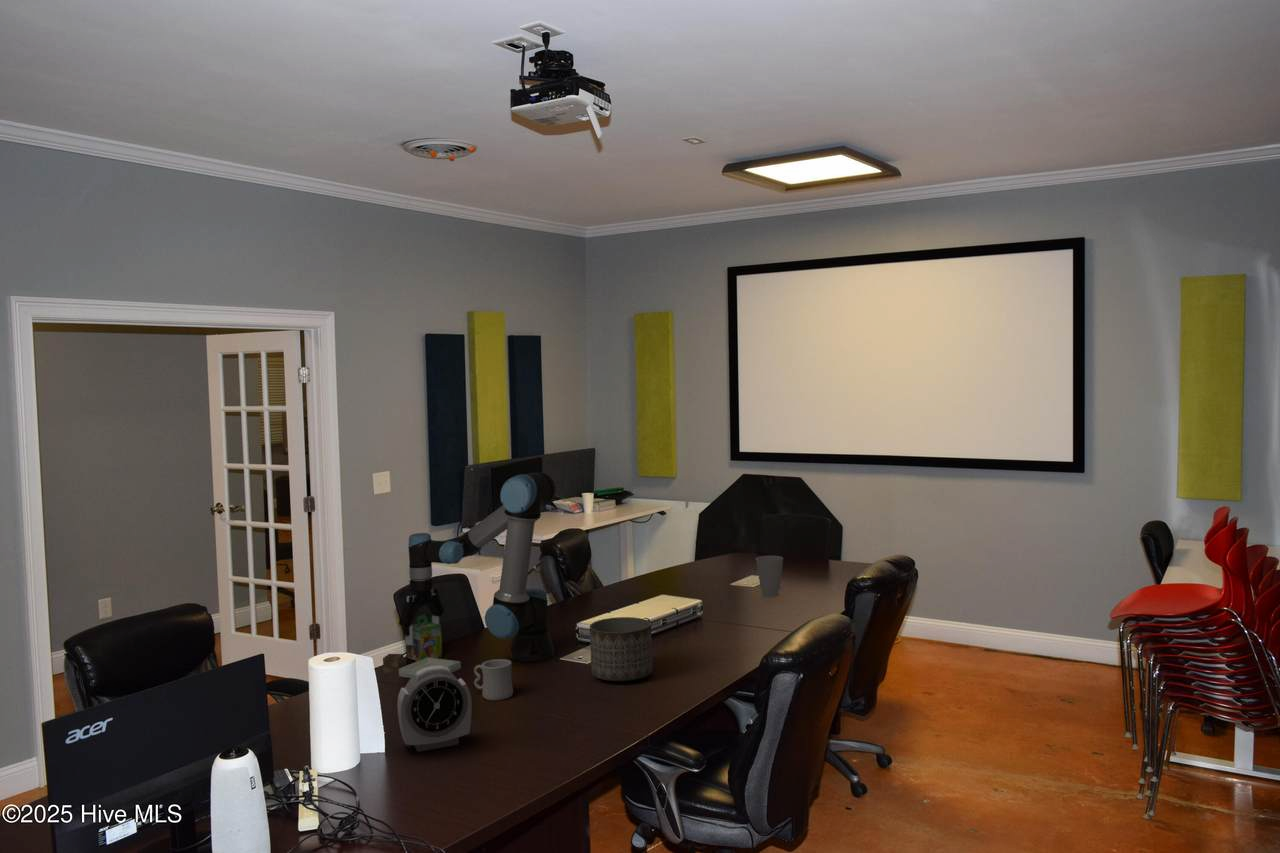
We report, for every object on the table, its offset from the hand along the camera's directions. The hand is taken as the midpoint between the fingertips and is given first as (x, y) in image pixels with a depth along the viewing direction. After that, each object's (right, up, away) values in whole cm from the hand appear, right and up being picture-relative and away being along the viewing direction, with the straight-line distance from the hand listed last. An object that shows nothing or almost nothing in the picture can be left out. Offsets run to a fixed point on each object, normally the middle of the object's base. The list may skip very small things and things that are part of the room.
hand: (422, 639), depth 318 cm
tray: (+6, -7, -17) cm, 19 cm away
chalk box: (+1, -7, 0) cm, 7 cm away
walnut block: (-7, -7, -13) cm, 16 cm away
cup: (+131, +1, +78) cm, 153 cm away
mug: (+31, -7, -42) cm, 53 cm away
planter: (+69, -5, -28) cm, 75 cm away
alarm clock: (+22, -9, -80) cm, 83 cm away
